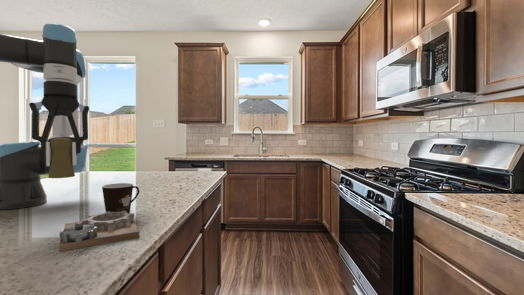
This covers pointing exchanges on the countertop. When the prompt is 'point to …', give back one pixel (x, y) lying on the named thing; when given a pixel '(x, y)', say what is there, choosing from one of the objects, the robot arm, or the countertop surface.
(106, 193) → the coffee mug
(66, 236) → the gear
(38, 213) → the countertop surface
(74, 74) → the robot arm
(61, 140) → the cork
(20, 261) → the countertop surface
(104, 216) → the gear board
